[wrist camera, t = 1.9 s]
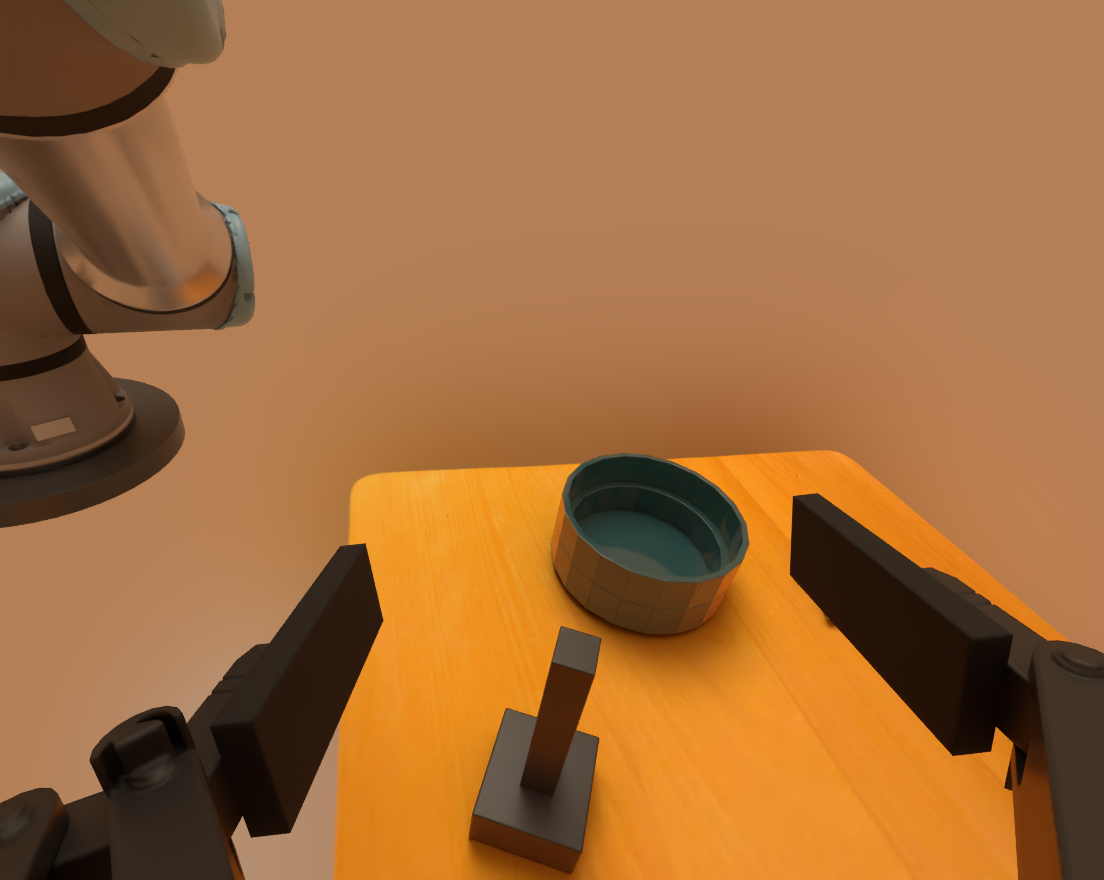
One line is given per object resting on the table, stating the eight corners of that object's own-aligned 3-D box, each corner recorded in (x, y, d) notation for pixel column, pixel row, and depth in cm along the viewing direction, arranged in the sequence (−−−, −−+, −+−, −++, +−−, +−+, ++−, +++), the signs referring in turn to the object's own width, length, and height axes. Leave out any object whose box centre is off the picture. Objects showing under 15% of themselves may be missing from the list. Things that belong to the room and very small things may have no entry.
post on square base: (468, 838, 27) (490, 691, 19) (501, 732, 31) (530, 580, 24) (571, 875, 26) (638, 738, 18) (589, 761, 31) (648, 614, 23)
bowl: (531, 606, 40) (543, 546, 36) (569, 490, 52) (581, 437, 48) (725, 663, 38) (758, 607, 34) (717, 530, 50) (740, 478, 47)
